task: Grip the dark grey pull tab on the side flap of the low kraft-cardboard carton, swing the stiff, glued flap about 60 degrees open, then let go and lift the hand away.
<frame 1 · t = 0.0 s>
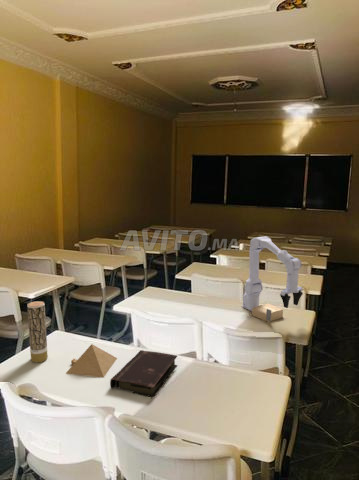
hand: (290, 306, 204), 10 cm above the table, tool pointing down, fingers open, 7 cm apart
carton: (267, 315, 217), on the table
model pyramid: (91, 366, 160), on the table
carton flap: (261, 312, 211), point 4 cm above the table, hinge at 0.0°
bark-patterned cylinder: (39, 359, 165), on the table
diary: (146, 377, 152), on the table
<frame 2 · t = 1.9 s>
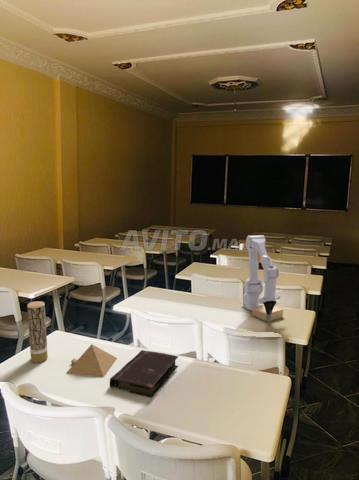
hand: (268, 313, 207), 5 cm above the table, tool pointing down, fingers closed, pressing on carton flap
carton flap: (261, 312, 211), point 4 cm above the table, hinge at 0.0°, touching gripper
everything else where it was.
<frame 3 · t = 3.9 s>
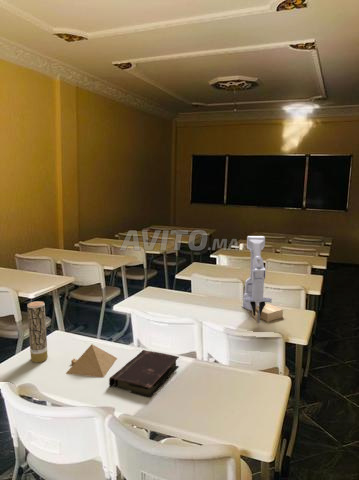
hand: (256, 315, 205), 5 cm above the table, tool pointing down, fingers closed
carton flap: (255, 313, 210), point 4 cm above the table, hinge at 29.2°, touching gripper
everything else where it was.
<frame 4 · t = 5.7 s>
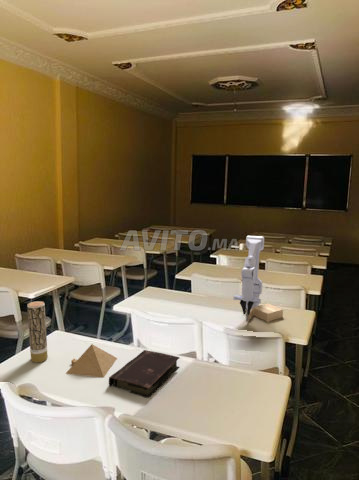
hand: (246, 314, 206), 5 cm above the table, tool pointing down, fingers closed
carton flap: (249, 313, 211), point 4 cm above the table, hinge at 57.2°, touching gripper
everything else where it was.
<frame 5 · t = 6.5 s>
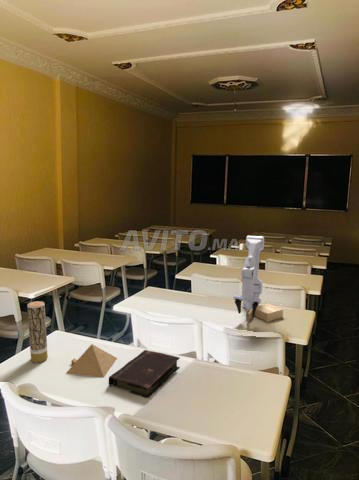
hand: (246, 314, 206), 5 cm above the table, tool pointing down, fingers open, 7 cm apart
carton flap: (249, 313, 211), point 4 cm above the table, hinge at 57.2°
everything else where it was.
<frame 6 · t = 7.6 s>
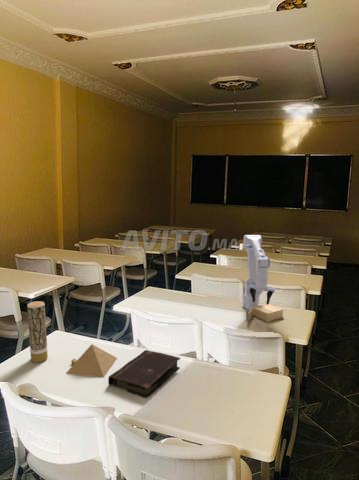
hand: (260, 302, 210), 9 cm above the table, tool pointing down, fingers open, 7 cm apart
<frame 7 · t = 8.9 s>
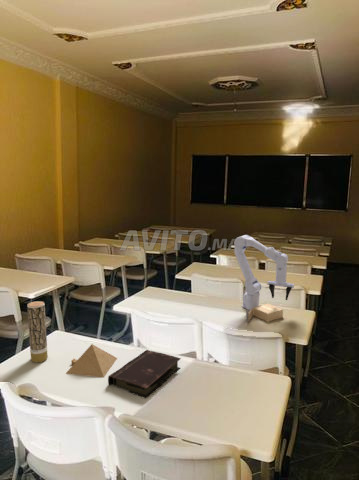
hand: (279, 298, 218), 9 cm above the table, tool pointing down, fingers open, 7 cm apart
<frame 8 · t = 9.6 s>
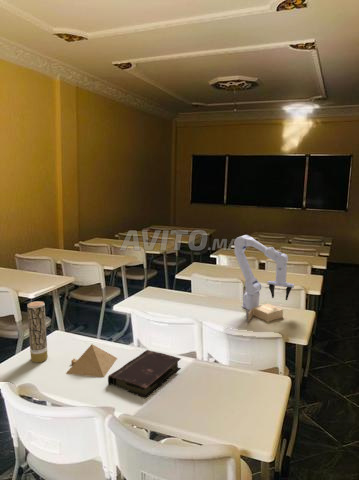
hand: (279, 298, 218), 9 cm above the table, tool pointing down, fingers open, 7 cm apart
nothing on the table moved.
at the end: carton flap at +57° (first picture: +0°); the gripper is holding nothing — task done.
